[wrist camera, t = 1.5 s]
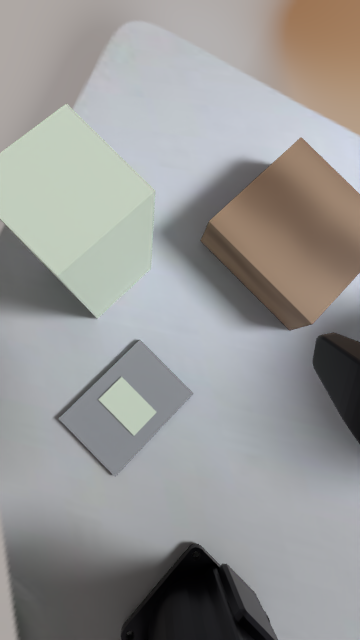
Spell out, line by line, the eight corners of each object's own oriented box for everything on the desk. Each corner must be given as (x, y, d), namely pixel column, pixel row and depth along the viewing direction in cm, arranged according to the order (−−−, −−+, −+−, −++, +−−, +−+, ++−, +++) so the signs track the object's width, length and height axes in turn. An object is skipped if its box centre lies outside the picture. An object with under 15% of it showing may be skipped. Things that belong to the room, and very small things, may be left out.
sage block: (97, 318, 22) (57, 276, 12) (45, 266, 22) (-38, 181, 12) (150, 269, 22) (155, 191, 13) (100, 219, 23) (66, 103, 13)
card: (115, 475, 20) (114, 477, 20) (59, 418, 20) (57, 419, 20) (192, 393, 21) (193, 393, 21) (139, 339, 22) (139, 339, 21)
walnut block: (287, 330, 23) (312, 324, 20) (199, 242, 24) (208, 221, 20) (363, 250, 25) (397, 230, 21) (279, 169, 25) (301, 137, 22)
